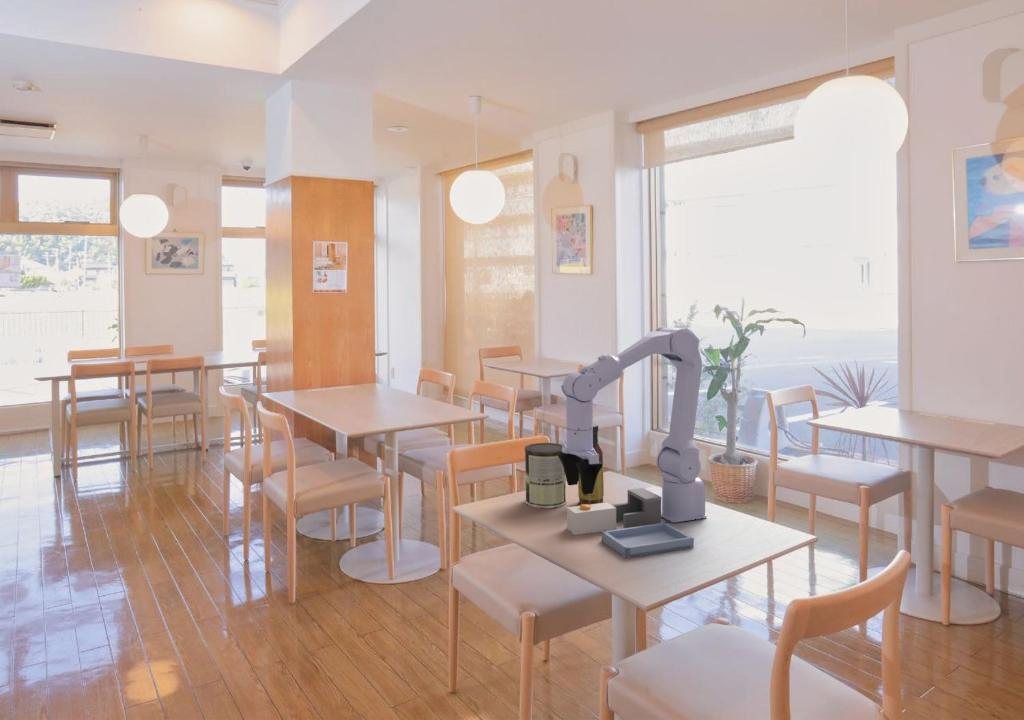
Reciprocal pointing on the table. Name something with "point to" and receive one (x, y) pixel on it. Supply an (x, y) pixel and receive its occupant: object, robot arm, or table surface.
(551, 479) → the coffee can
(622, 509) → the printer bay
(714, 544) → the table surface
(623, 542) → the tray
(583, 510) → the white block with knob
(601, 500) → the sauce bottle
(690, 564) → the table surface
